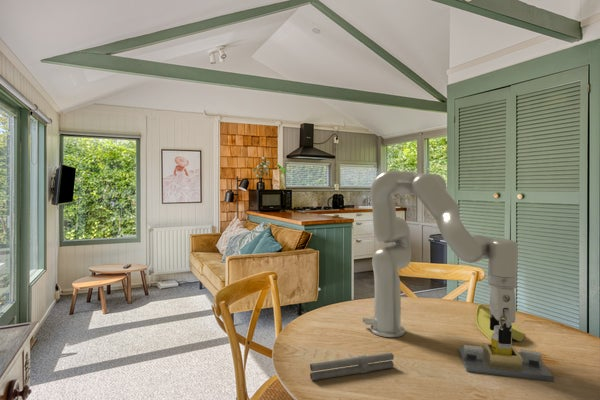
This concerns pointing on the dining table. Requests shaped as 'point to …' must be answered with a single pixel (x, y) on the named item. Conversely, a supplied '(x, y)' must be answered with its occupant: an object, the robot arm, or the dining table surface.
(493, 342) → the supplement bottle
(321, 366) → the metal rod assembly
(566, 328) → the dining table surface
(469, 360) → the stand
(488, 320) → the plastic component
